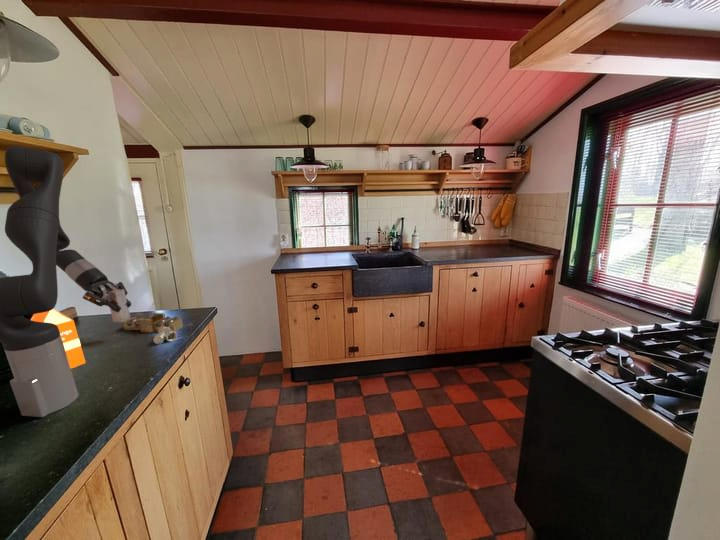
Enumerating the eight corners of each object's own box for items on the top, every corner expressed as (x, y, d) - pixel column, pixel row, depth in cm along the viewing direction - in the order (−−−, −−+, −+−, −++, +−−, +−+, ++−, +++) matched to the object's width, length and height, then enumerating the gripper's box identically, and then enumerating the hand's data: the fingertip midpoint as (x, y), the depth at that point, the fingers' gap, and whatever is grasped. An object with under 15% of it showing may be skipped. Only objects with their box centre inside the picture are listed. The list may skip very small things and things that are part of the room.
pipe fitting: (157, 348, 103) (178, 339, 108) (154, 338, 102) (175, 329, 107) (149, 341, 108) (170, 333, 113) (146, 332, 107) (167, 324, 112)
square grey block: (122, 322, 105) (115, 292, 103) (113, 321, 106) (106, 292, 103) (130, 318, 109) (124, 289, 106) (122, 318, 109) (115, 289, 107)
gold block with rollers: (172, 333, 113) (169, 321, 112) (122, 331, 116) (119, 319, 115) (184, 325, 120) (182, 313, 119) (137, 323, 123) (135, 312, 121)
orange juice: (74, 356, 98) (57, 298, 93) (86, 362, 94) (69, 303, 89) (41, 368, 92) (21, 307, 87) (52, 375, 87) (32, 312, 83)
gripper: (69, 272, 97) (111, 308, 98) (110, 263, 111) (146, 295, 112) (59, 288, 99) (100, 323, 100) (100, 277, 113) (136, 308, 114)
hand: (124, 308), depth 106 cm, fingers closed on square grey block, 3 cm apart
